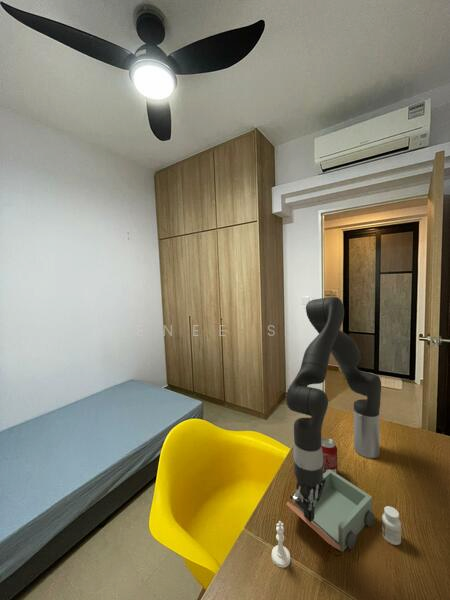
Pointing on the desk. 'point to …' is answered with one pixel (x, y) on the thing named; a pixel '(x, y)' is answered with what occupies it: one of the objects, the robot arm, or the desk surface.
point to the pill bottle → (391, 525)
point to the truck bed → (342, 510)
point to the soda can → (329, 455)
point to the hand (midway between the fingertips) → (309, 518)
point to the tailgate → (315, 527)
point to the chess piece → (280, 549)
